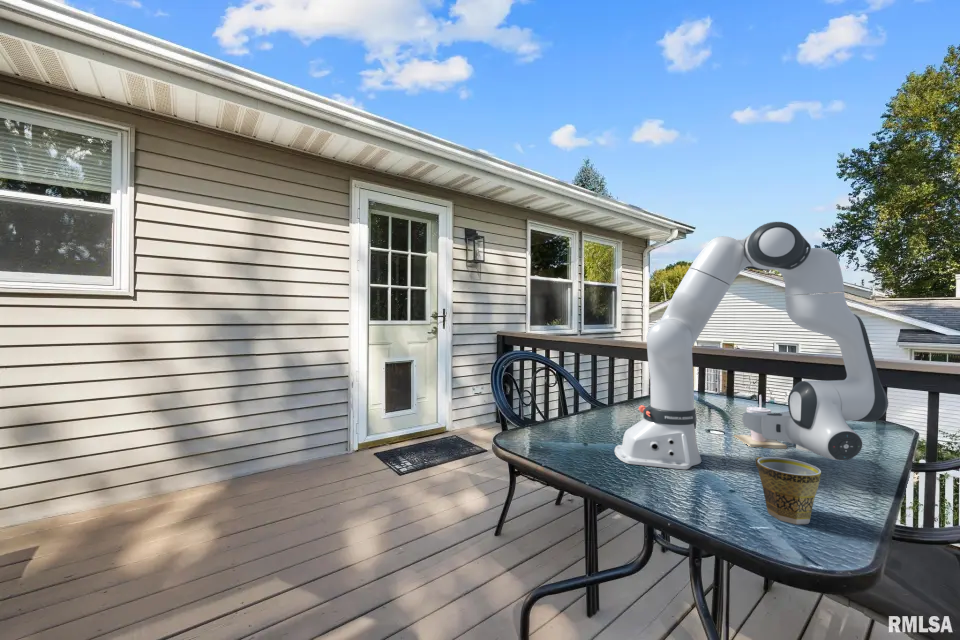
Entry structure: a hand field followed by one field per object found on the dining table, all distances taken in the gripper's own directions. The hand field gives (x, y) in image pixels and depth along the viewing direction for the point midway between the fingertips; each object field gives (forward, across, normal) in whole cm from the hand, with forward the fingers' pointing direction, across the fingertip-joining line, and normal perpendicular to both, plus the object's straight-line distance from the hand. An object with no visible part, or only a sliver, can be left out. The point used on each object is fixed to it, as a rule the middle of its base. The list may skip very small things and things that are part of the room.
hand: (769, 415), depth 119 cm
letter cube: (+2, -11, +10) cm, 15 cm away
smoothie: (+6, 0, +9) cm, 11 cm away
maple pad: (+6, 0, +10) cm, 12 cm away
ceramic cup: (-42, +20, +10) cm, 48 cm away
